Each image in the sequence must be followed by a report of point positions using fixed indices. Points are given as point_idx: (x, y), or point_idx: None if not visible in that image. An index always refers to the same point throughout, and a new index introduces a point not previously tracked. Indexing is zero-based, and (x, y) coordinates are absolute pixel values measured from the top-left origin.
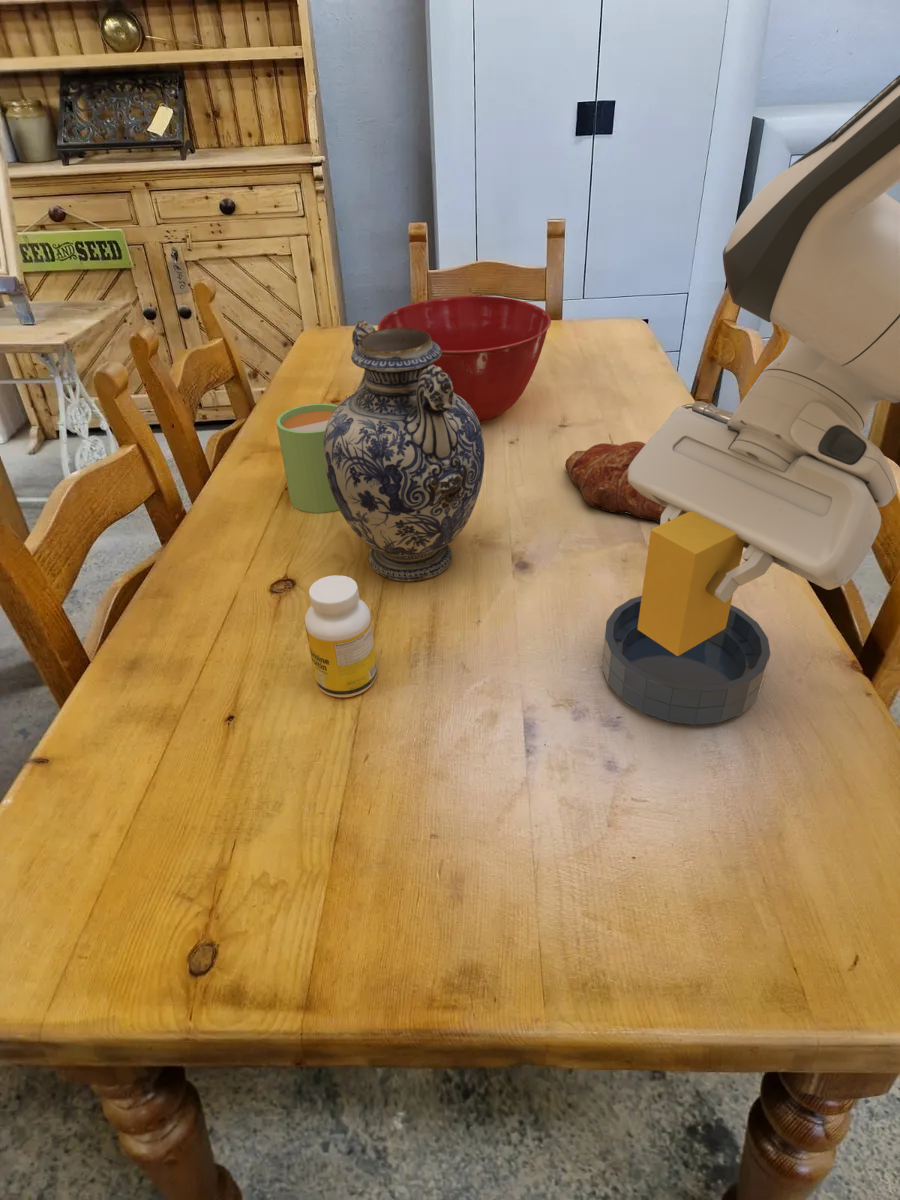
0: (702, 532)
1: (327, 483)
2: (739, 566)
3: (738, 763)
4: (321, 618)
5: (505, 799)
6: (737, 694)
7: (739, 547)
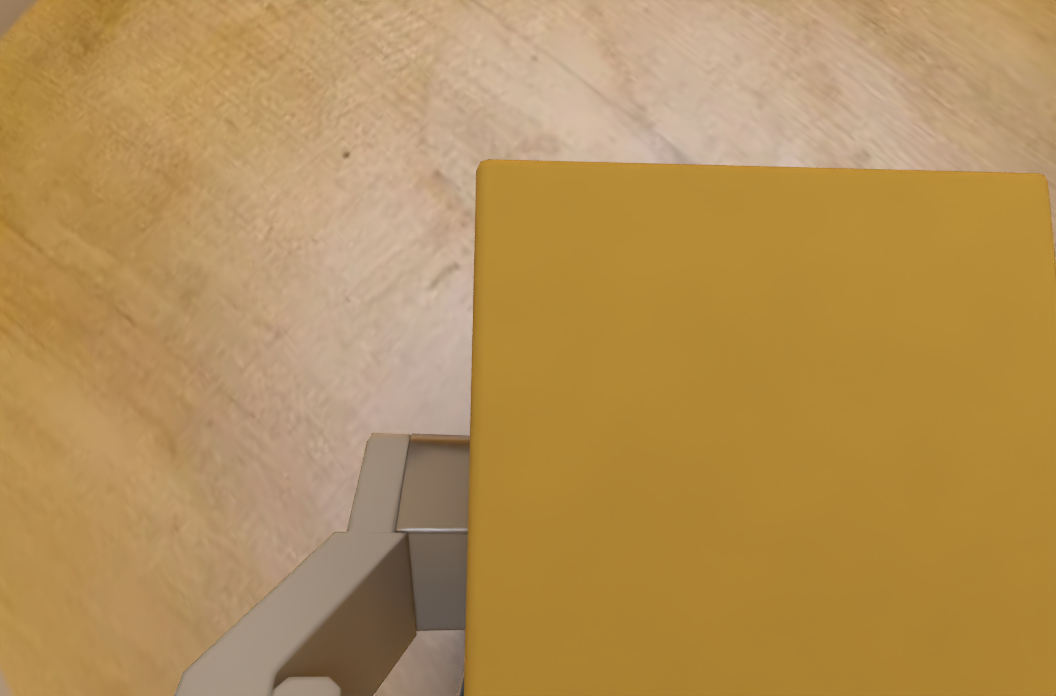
0: (704, 519)
1: None
2: (321, 608)
3: None
4: None
5: (629, 54)
6: (460, 686)
7: None
